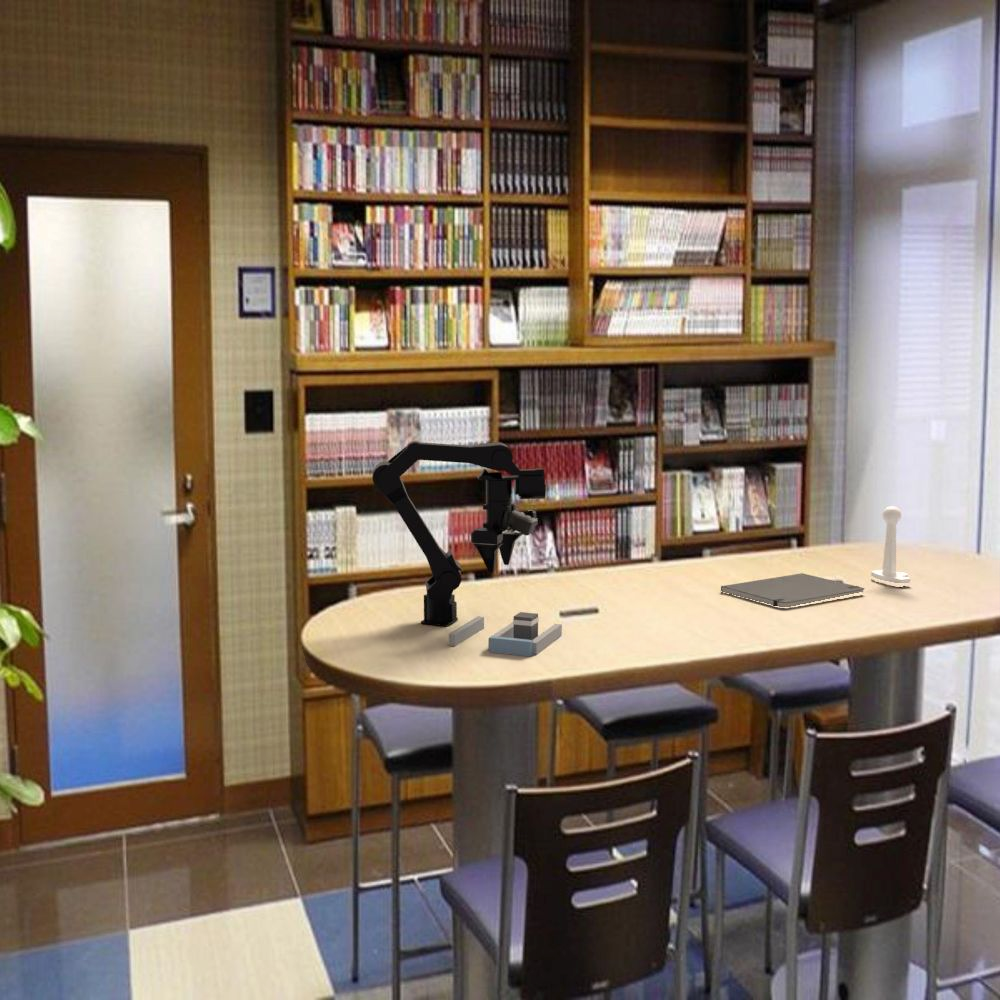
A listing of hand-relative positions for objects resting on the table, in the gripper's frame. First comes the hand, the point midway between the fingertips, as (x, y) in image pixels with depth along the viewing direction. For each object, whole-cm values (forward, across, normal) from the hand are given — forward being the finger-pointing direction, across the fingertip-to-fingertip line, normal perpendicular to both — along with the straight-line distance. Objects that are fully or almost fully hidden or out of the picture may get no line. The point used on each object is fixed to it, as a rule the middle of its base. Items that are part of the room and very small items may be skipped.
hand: (499, 568), depth 273 cm
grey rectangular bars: (+12, -15, -7) cm, 21 cm away
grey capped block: (+12, -15, -12) cm, 23 cm away
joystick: (+12, +73, -80) cm, 109 cm away
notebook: (+13, +51, -58) cm, 78 cm away
